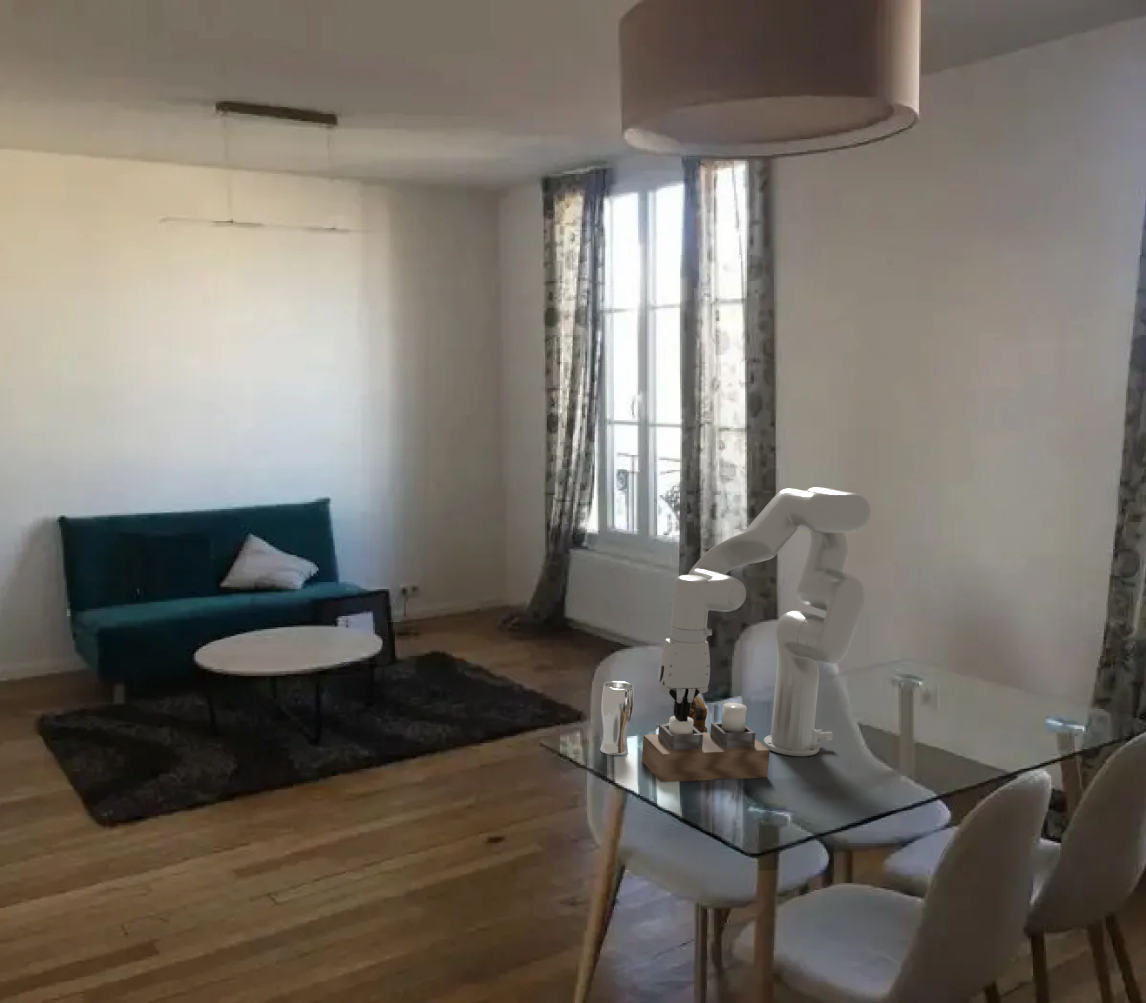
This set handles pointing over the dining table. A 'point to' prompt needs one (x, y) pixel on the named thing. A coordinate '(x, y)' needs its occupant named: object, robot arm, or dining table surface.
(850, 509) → the robot arm
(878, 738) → the dining table surface
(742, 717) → the knob
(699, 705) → the wooden carving
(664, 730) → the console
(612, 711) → the beer glass
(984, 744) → the dining table surface
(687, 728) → the knob
